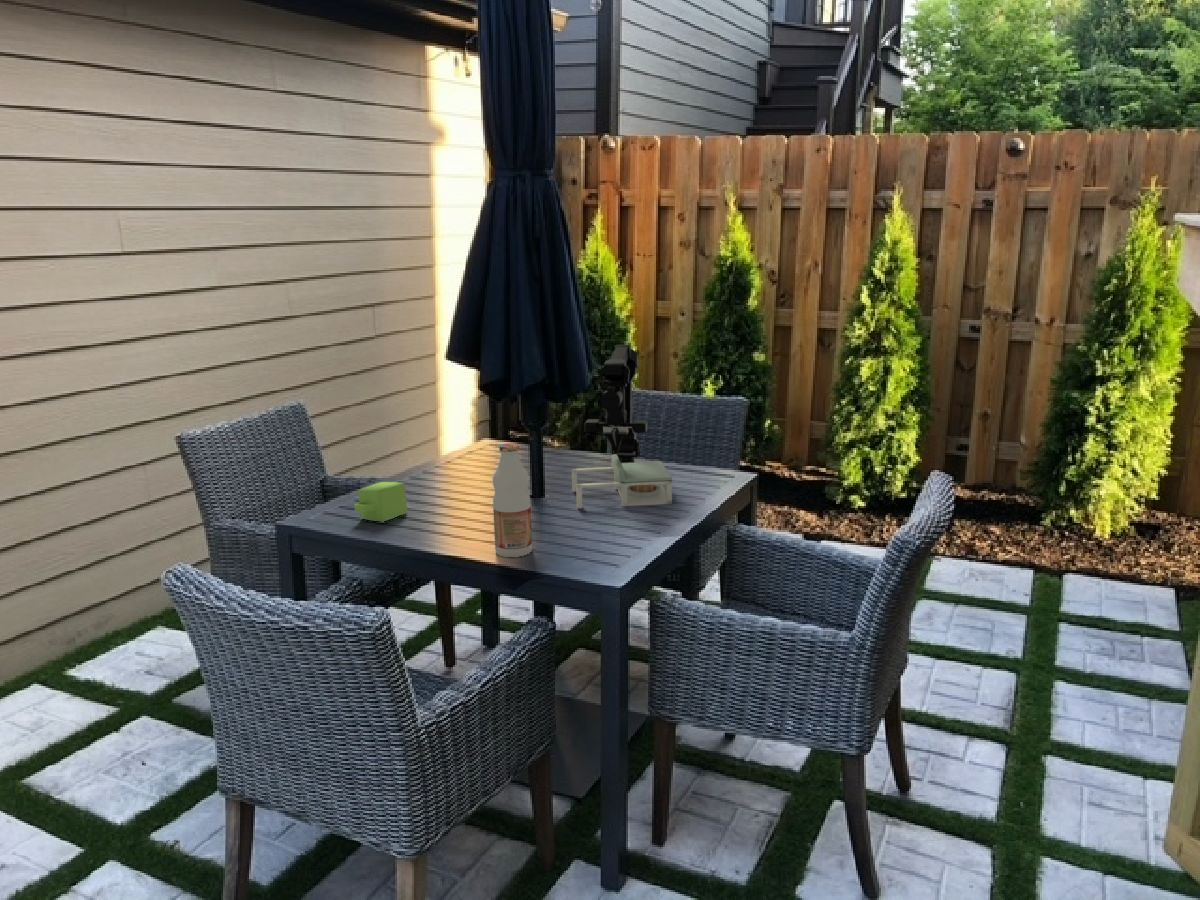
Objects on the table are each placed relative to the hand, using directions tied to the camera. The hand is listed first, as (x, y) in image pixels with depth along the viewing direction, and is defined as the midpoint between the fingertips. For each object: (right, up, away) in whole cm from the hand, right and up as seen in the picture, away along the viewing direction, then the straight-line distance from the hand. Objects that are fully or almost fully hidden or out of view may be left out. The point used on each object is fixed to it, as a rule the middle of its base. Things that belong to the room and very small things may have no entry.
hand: (616, 453), depth 290 cm
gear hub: (+8, -12, -1) cm, 15 cm away
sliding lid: (+7, -6, -3) cm, 10 cm away
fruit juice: (-27, -25, -47) cm, 60 cm away
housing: (+1, -13, -2) cm, 13 cm away
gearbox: (-67, -18, -15) cm, 71 cm away
